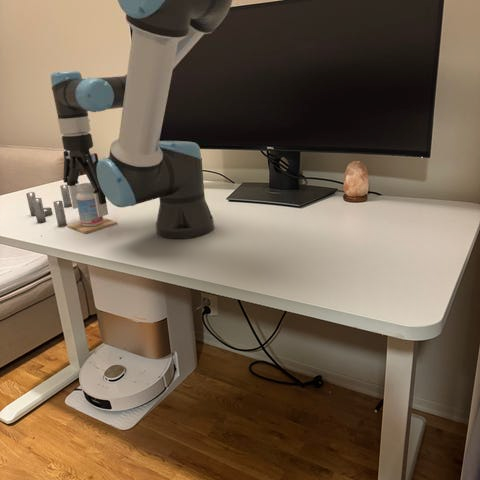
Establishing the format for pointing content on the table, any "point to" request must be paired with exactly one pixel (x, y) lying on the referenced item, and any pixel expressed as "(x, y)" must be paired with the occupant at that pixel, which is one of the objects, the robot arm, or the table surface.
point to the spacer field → (38, 210)
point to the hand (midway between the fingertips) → (90, 211)
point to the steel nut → (48, 212)
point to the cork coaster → (90, 229)
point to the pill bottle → (87, 205)
